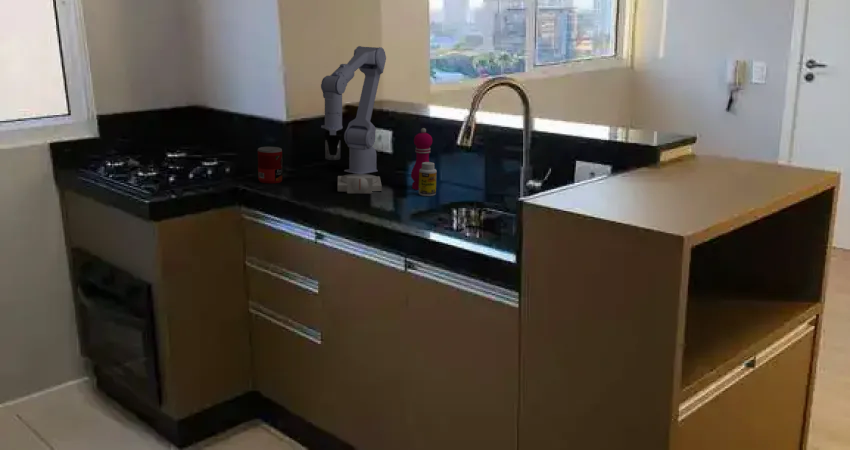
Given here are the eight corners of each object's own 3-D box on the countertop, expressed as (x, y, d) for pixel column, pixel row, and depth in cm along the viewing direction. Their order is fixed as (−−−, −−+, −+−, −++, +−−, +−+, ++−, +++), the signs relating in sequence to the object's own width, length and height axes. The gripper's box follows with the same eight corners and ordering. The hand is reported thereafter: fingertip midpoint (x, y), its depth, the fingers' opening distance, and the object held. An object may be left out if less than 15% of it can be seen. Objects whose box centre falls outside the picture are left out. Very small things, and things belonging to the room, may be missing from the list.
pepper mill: (430, 191, 264) (432, 130, 259) (408, 190, 265) (410, 128, 260) (434, 187, 271) (436, 127, 265) (413, 185, 272) (414, 125, 267)
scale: (337, 181, 274) (338, 166, 272) (379, 182, 275) (379, 166, 274) (337, 193, 258) (337, 177, 256) (381, 193, 259) (382, 177, 258)
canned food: (280, 184, 268) (279, 151, 265) (256, 183, 268) (255, 150, 265) (284, 179, 275) (284, 147, 272) (261, 178, 275) (260, 146, 272)
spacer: (334, 156, 276) (334, 138, 275) (343, 158, 273) (343, 141, 271) (322, 158, 273) (322, 140, 271) (331, 160, 269) (331, 142, 268)
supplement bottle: (418, 196, 257) (419, 164, 254) (418, 192, 263) (419, 161, 260) (436, 196, 257) (437, 165, 255) (435, 192, 263) (436, 161, 260)
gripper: (322, 109, 275) (322, 149, 279) (320, 115, 261) (320, 157, 265) (343, 109, 276) (342, 149, 280) (342, 115, 262) (342, 157, 266)
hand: (333, 153), depth 272 cm, fingers closed on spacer, 5 cm apart
